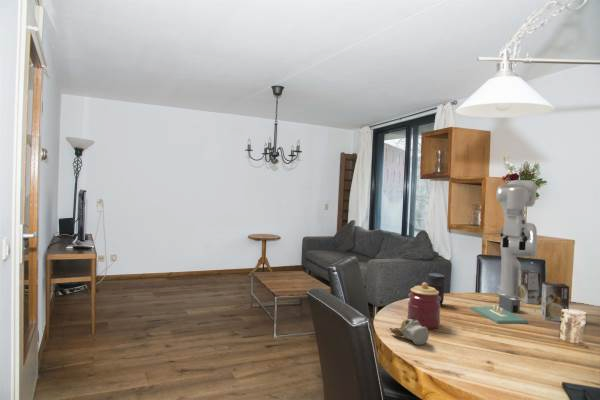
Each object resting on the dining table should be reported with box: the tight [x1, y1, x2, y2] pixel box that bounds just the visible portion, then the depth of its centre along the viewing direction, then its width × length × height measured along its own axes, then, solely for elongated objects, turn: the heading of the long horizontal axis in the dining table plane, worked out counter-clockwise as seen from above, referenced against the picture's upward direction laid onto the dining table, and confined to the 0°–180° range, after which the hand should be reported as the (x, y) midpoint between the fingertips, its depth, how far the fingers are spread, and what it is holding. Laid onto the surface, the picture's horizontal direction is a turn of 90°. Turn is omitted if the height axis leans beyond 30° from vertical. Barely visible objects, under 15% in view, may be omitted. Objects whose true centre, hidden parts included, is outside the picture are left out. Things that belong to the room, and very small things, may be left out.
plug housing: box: [498, 295, 521, 314], centre depth 185 cm, size 9×4×6 cm, turn 7°
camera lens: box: [426, 272, 446, 307], centre depth 189 cm, size 8×8×15 cm
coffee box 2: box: [540, 281, 570, 322], centre depth 173 cm, size 9×6×16 cm
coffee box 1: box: [517, 269, 541, 305], centre depth 202 cm, size 9×6×16 cm
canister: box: [406, 281, 442, 330], centre depth 159 cm, size 13×13×18 cm
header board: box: [470, 304, 528, 324], centre depth 175 cm, size 20×14×4 cm
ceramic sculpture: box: [389, 317, 430, 346], centre depth 142 cm, size 11×9×15 cm
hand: (513, 248), depth 183 cm, fingers open, 9 cm apart
